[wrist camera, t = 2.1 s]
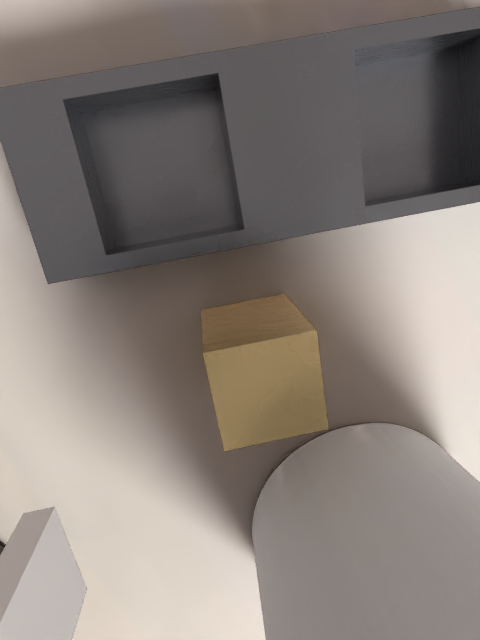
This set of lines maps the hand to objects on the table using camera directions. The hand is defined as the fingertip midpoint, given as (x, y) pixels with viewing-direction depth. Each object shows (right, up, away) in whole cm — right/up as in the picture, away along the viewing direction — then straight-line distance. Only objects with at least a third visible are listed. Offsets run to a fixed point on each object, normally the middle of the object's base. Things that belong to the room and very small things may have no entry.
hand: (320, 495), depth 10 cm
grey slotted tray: (0, +12, +8) cm, 15 cm away
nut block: (-2, +3, +11) cm, 12 cm away
